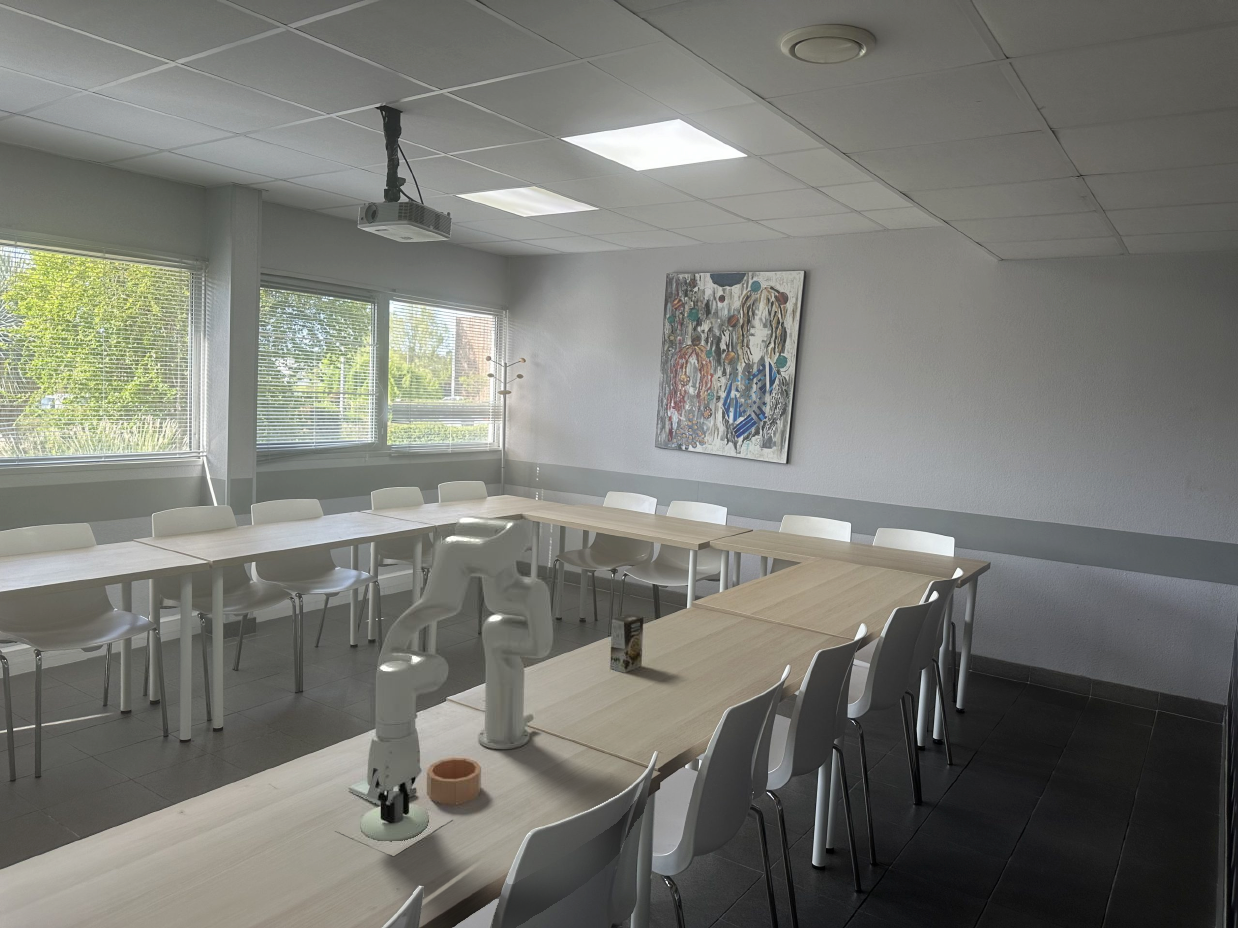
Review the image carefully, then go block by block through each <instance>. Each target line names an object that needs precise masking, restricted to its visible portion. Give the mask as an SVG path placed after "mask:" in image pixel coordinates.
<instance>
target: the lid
mask: <svg viewBox="0 0 1238 928" xmlns="http://www.w3.org/2000/svg"><path fill="white" fill-rule="evenodd" d="M392 802H393V803H394V804H395V818H394V822H393V823H392V824H391V823H388V822H386V821H383V820H381V806H380V805H379V806H376V807H375V808H373V809H371V810H369V811H367V812H366V813H365V814H363V815H364V816H363V815H362V816H363V817H362V819H361V822H360V829H361V832H362V833H363V834H364V835H365V836H366V837H368V838H371V839H373V840H377V841H390V842H392V841H403V840H404V841H405V840H408V839H411V838H414V837H416V836H418V835H419V834H421V833H422V832H423V831H424V830H425V829H426V828H427V826H428V823H429V815H428V812H427V811H426V810H427V809H426V808H424V807H422V806H419V805H417V804H415V803H411V804H409V814H407V815H404V814H403V792H401V791H393V798H392ZM425 809H426V810H425Z"/></svg>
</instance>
